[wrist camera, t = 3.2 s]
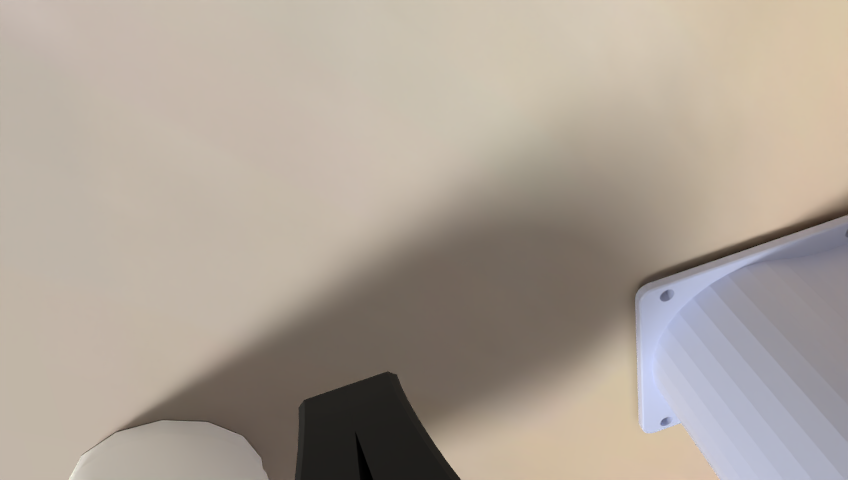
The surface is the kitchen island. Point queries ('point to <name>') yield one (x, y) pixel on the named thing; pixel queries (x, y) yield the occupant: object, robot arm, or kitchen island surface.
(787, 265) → the robot arm
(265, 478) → the foam cup
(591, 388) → the kitchen island surface
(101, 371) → the kitchen island surface
